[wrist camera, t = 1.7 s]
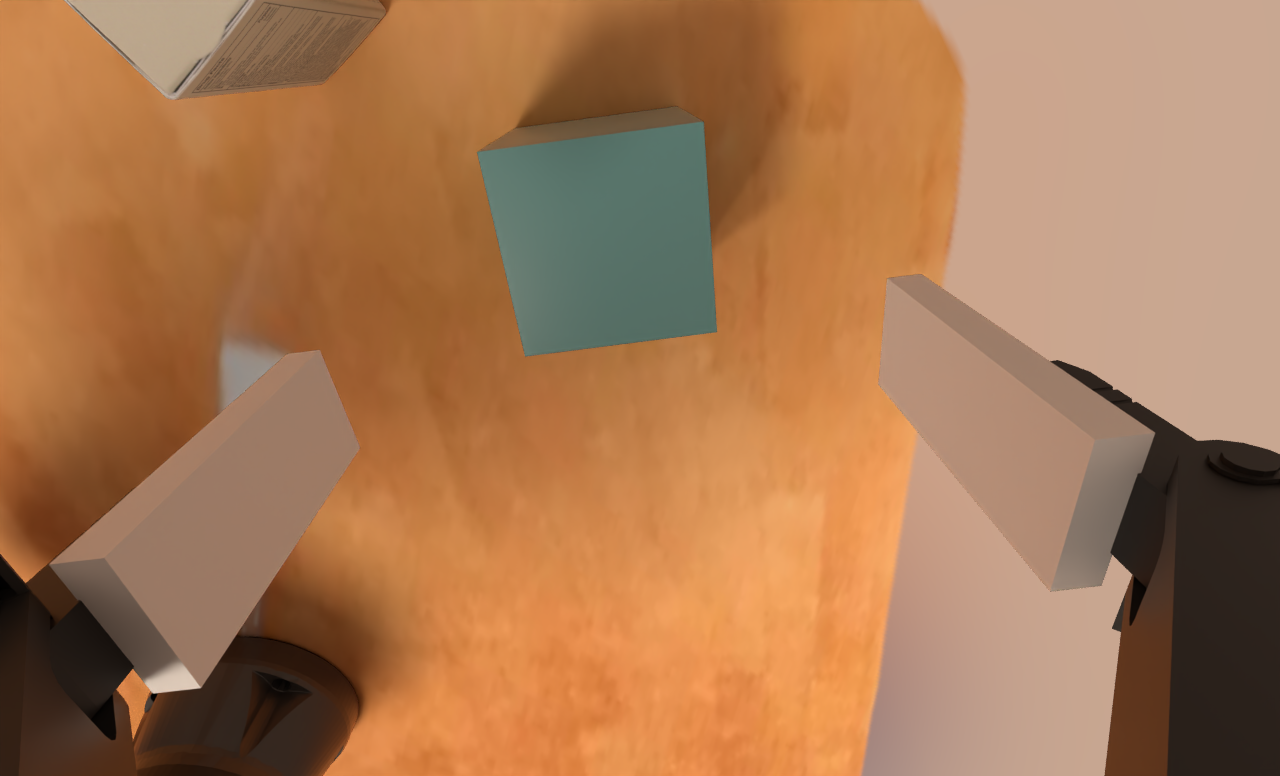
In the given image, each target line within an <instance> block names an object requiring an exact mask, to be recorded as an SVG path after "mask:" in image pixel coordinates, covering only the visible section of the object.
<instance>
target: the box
mask: <svg viewBox="0 0 1280 776" xmlns="http://www.w3.org/2000/svg"><path fill="white" fill-rule="evenodd" d="M64 1H65V2H66V3H67V4H68V5H69V6H70V7H72V8H73V9H74V10H75V11H76V12H77V13H78V14H79V15H80V16H81V17H82V18H83V19H84V20H85V21H86V22H87V23H88V24H89V25H90V26H91V27H92V28H93V29H94V30H95V31H96V32H97V33H98V34H99V35H100V36H101V37H102V38H103V39H104V40H105V41H107V42H108V43H109V44H110V45H111V46H112V47H113V48H114V49H115V50H116V51H117V52H118V53H119V54H120V55H121V56H122V57H123V58H125V59H126V60H127V61H128V62H129V63H130V64H131V65H132V66H133V67H134V68H135V69H136V70H137V71H138V72H139V73H140V74H141V75H142V76H143V77H145V78H146V79H147V80H148V81H149V82H150V83H151V84H152V85H153V86H154V87H155V88H156V89H157V90H158V91H160V92H161V93H162V94H163V95H164V96H165V97H166V98H168V99H171V100H177V99H185V98H196V97H205V96H214V95H224V94H234V93H245V92H255V91H265V90H274V89H283V88H293V87H303V86H313V85H321V84H323V83H325V82H326V81H327V79H328V78H329V77H330V76H331V75H332V74H333V73H334V72H335V71H336V70H337V69H338V68H339V67H340V66H341V65H342V64H343V63H344V62H345V61H346V60H347V59H348V57H349V56H350V55H351V54H352V53H353V52H354V51H355V49H356V48H357V47H358V46H359V45H360V44H361V43H362V41H363V40H364V39H365V38H366V37H367V36H368V35H369V34H370V32H371V31H372V30H373V29H374V27H375V26H376V25H377V24H378V23H379V21H380V20H381V19H382V18H383V17H384V15H385V14H386V9H385V8H384V6H383V5H382V4H381V3H380V1H379V0H64Z"/></svg>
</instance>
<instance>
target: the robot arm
mask: <svg viewBox="0 0 1280 776" xmlns="http://www.w3.org/2000/svg"><path fill="white" fill-rule="evenodd" d="M878 385H879V386H880V387H881V388H882V390H883V391H884V392H885V393H886V394H887V396H888V397H889V398H890V399H891V400H892V402H893V403H894V404H895V405H896V406H897V408H898V409H899V410H900V411H901V412H902V414H903V415H904V416H905V417H906V419H907V420H908V421H909V422H910V423H911V425H912V426H913V427H914V428H915V429H916V431H917V432H918V433H919V434H920V435H921V437H922V438H923V439H924V440H925V441H926V443H927V444H928V445H929V446H930V447H931V449H932V450H933V451H934V452H935V453H936V454H937V456H938V457H939V458H940V460H941V461H942V462H943V463H944V464H945V466H946V467H947V468H948V469H949V470H950V471H951V473H952V474H953V475H954V476H955V478H956V479H957V480H958V481H959V482H960V483H961V485H962V486H963V487H964V488H965V490H966V491H967V492H968V493H969V494H970V496H971V497H972V498H973V499H974V500H975V502H976V503H977V504H978V505H979V506H980V508H981V509H982V510H983V511H984V513H985V514H986V515H987V516H988V517H989V519H990V520H991V521H992V522H993V523H994V524H995V526H996V527H997V528H998V529H999V531H1000V532H1001V533H1002V534H1003V535H1004V537H1005V538H1006V539H1007V540H1008V541H1009V543H1010V544H1011V545H1012V546H1013V547H1014V549H1015V550H1016V551H1017V552H1018V553H1019V555H1020V556H1021V557H1022V558H1023V559H1024V561H1025V562H1026V563H1027V564H1028V566H1029V567H1030V568H1031V569H1032V570H1033V572H1034V573H1035V574H1036V575H1037V576H1038V578H1039V579H1040V580H1041V581H1042V582H1043V584H1044V585H1045V586H1046V587H1047V588H1048V590H1049V591H1050V592H1051V591H1060V590H1069V589H1078V588H1086V587H1095V586H1101V585H1102V583H1103V580H1104V577H1105V574H1106V571H1107V568H1108V566H1109V563H1110V560H1111V557H1112V555H1113V556H1114V557H1115V558H1116V559H1117V560H1118V561H1119V562H1120V563H1121V564H1122V565H1123V566H1125V568H1126V569H1128V570H1129V572H1130V573H1131V574H1132V577H1131V580H1130V583H1129V585H1128V588H1127V591H1126V593H1125V596H1124V598H1123V601H1122V604H1121V606H1120V609H1119V612H1118V614H1117V617H1116V619H1115V622H1114V625H1113V627H1112V629H1114V630H1117V631H1120V632H1121V637H1120V646H1119V655H1118V664H1117V673H1116V681H1115V690H1114V699H1113V707H1112V715H1111V724H1110V733H1109V742H1108V751H1107V759H1106V768H1105V776H1280V454H1278V453H1275V452H1273V451H1271V450H1268V449H1264V448H1260V447H1257V446H1253V445H1249V444H1245V443H1239V442H1231V441H1223V440H1207V441H1196V440H1195V439H1193V438H1192V437H1190V436H1189V435H1187V434H1186V433H1184V432H1183V431H1181V430H1179V429H1178V428H1176V427H1175V426H1173V425H1172V424H1170V423H1169V422H1167V421H1165V420H1164V419H1162V418H1161V417H1159V416H1158V415H1156V414H1155V413H1153V412H1151V411H1150V410H1148V409H1147V408H1145V407H1144V406H1142V405H1141V404H1139V403H1137V402H1134V403H1133V402H1132V399H1131V398H1130V397H1128V396H1127V395H1125V394H1123V393H1122V392H1120V391H1119V390H1113V387H1112V386H1111V385H1110V384H1108V383H1106V382H1105V381H1103V380H1102V379H1100V378H1098V377H1097V376H1096V375H1094V374H1092V373H1091V372H1089V371H1086V370H1084V369H1080V368H1078V367H1075V366H1073V365H1070V364H1067V363H1064V362H1062V361H1058V360H1056V361H1049V360H1047V359H1045V358H1044V357H1043V356H1041V355H1040V354H1038V353H1037V352H1035V351H1034V350H1032V349H1031V348H1029V347H1028V346H1026V345H1025V344H1023V343H1022V342H1021V341H1019V340H1018V339H1016V338H1015V337H1013V336H1012V335H1010V334H1009V333H1007V332H1006V331H1004V330H1003V329H1001V328H1000V327H998V326H997V325H995V324H994V323H993V322H991V321H990V320H988V319H987V318H985V317H984V316H982V315H981V314H979V313H978V312H976V311H975V310H973V309H972V308H970V307H969V306H968V305H966V304H965V303H963V302H961V301H960V300H959V299H957V298H956V297H954V296H953V295H951V294H950V293H948V292H947V291H945V290H944V289H942V288H941V287H940V286H938V285H937V284H935V283H934V282H932V281H931V280H929V279H928V278H926V277H925V276H923V275H922V274H917V275H909V276H901V277H893V278H887V287H886V299H885V311H884V323H883V335H882V347H881V359H880V371H879V383H878ZM359 449H360V446H359V443H358V441H357V439H356V436H355V434H354V431H353V429H352V427H351V424H350V422H349V419H348V417H347V414H346V412H345V410H344V407H343V405H342V402H341V400H340V398H339V395H338V393H337V390H336V388H335V386H334V383H333V381H332V378H331V376H330V374H329V371H328V369H327V366H326V364H325V362H324V359H323V357H322V354H321V352H320V350H314V351H306V352H298V353H290V354H287V355H285V356H284V357H283V358H282V359H281V360H280V361H279V362H277V363H276V364H275V365H274V366H273V367H272V368H271V369H270V370H268V371H267V372H266V373H265V374H264V375H263V376H262V377H261V378H259V379H258V380H257V381H256V382H255V383H254V384H253V385H251V386H250V387H249V388H248V389H247V390H246V391H245V392H244V393H242V394H241V395H240V396H239V397H238V398H237V399H236V400H234V401H233V402H232V403H231V404H230V405H229V406H228V407H227V408H225V409H224V410H223V411H222V412H221V413H220V414H219V415H217V416H216V417H215V418H214V419H213V420H212V421H211V422H210V423H208V424H207V425H206V426H205V427H204V428H203V429H202V430H201V431H199V432H198V433H197V434H196V435H195V436H194V437H193V438H191V439H190V440H189V441H188V442H187V443H186V444H185V445H184V446H182V447H181V448H180V449H179V450H178V451H177V452H176V453H174V454H173V455H172V456H171V457H170V458H169V459H168V460H167V461H165V462H164V463H163V464H162V465H161V466H160V467H159V468H157V469H156V470H155V471H154V472H153V473H152V474H151V475H150V476H148V477H147V478H146V479H145V480H144V481H143V482H142V483H140V484H139V485H138V486H137V487H136V488H134V489H133V490H131V491H130V492H129V493H128V494H127V495H126V496H125V497H123V498H122V499H121V500H120V501H119V502H118V503H117V504H115V505H114V506H113V507H112V508H111V509H110V511H109V512H108V513H107V514H104V515H103V516H102V517H101V518H100V519H98V520H97V521H96V522H95V523H94V524H93V525H92V526H91V528H90V529H88V530H86V531H85V532H84V533H83V534H81V535H80V536H79V537H78V538H77V539H76V540H75V541H73V542H72V543H71V544H70V545H69V546H68V547H67V548H66V549H64V550H63V551H62V552H61V553H60V554H59V555H58V556H56V557H55V558H54V559H53V560H52V561H51V562H50V563H48V564H47V565H46V566H45V567H44V568H43V569H42V570H41V571H39V572H38V573H37V574H36V575H35V576H34V577H33V578H31V579H30V580H29V581H28V582H27V583H25V582H24V581H23V580H22V579H21V578H20V576H19V575H18V574H17V573H16V572H15V571H14V569H13V568H12V567H11V566H10V565H9V564H8V562H7V561H6V560H5V559H4V558H3V556H2V555H1V554H0V776H323V775H324V773H325V772H326V771H327V769H328V768H329V766H330V765H331V764H332V763H333V762H334V761H335V759H336V758H337V757H338V756H339V755H340V754H341V753H342V751H343V750H344V748H345V746H346V744H347V742H348V740H349V737H350V735H351V732H352V730H353V727H354V725H355V722H356V720H357V717H358V711H359V705H358V699H357V696H356V693H355V691H354V689H353V687H352V686H351V684H350V683H349V681H348V680H347V679H346V678H345V677H344V676H343V675H342V674H341V673H340V672H339V671H338V670H337V669H336V668H335V667H333V666H332V665H331V664H329V663H328V662H326V661H325V660H323V659H321V658H320V657H318V656H316V655H314V654H312V653H310V652H308V651H306V650H303V649H301V648H298V647H295V646H292V645H289V644H286V643H282V642H278V641H273V640H268V639H262V638H252V637H235V636H236V635H237V633H238V632H239V630H240V629H241V627H242V626H243V624H244V622H245V621H246V619H247V618H248V616H249V615H250V613H251V612H252V610H253V609H254V607H255V606H256V604H257V603H258V601H259V600H260V598H261V597H262V595H263V594H264V592H265V591H266V589H267V588H268V586H269V585H270V583H271V582H272V580H273V579H274V577H275V576H276V574H277V573H278V571H279V570H280V568H281V567H282V565H283V564H284V562H285V561H286V559H287V558H288V556H289V555H290V553H291V552H292V550H293V549H294V547H295V546H296V544H297V543H298V541H299V540H300V538H301V537H302V535H303V533H304V532H305V530H306V529H307V527H308V526H309V524H310V523H311V521H312V520H313V518H314V517H315V515H316V514H317V512H318V511H319V509H320V508H321V506H322V505H323V503H324V502H325V500H326V499H327V497H328V496H329V494H330V493H331V491H332V490H333V488H334V487H335V485H336V484H337V482H338V481H339V479H340V478H341V476H342V475H343V473H344V472H345V470H346V469H347V467H348V466H349V464H350V463H351V461H352V460H353V458H354V457H355V455H356V454H357V452H358V451H359ZM132 669H134V671H135V672H136V673H137V674H138V675H139V677H140V678H141V679H142V680H143V682H144V683H145V684H146V685H147V687H148V688H149V689H150V690H151V691H150V693H149V695H148V698H147V701H146V704H145V713H144V715H143V717H142V720H141V722H140V724H139V727H138V729H137V732H136V734H135V737H134V740H133V738H132V730H131V723H130V715H129V707H128V705H127V703H126V701H125V700H124V698H123V697H122V696H121V695H120V694H119V692H118V691H117V690H116V689H117V688H118V686H119V685H120V684H121V683H122V681H123V680H124V679H125V678H126V676H127V675H128V674H129V673H130V671H131V670H132Z"/></svg>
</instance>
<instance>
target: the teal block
mask: <svg viewBox="0 0 1280 776" xmlns="http://www.w3.org/2000/svg"><path fill="white" fill-rule="evenodd" d="M477 154H478V158H479V162H480V167H481V171H482V175H483V179H484V184H485V188H486V192H487V196H488V201H489V205H490V209H491V213H492V218H493V222H494V226H495V230H496V235H497V239H498V243H499V247H500V252H501V256H502V260H503V265H504V269H505V273H506V277H507V282H508V286H509V290H510V294H511V299H512V303H513V307H514V311H515V316H516V320H517V324H518V328H519V333H520V337H521V341H522V345H523V350H524V354H525V356H533V355H541V354H549V353H557V352H564V351H572V350H580V349H588V348H596V347H604V346H612V345H619V344H627V343H635V342H643V341H651V340H659V339H666V338H674V337H682V336H690V335H698V334H706V333H714V332H717V325H716V309H715V293H714V277H713V261H712V245H711V230H710V214H709V198H708V182H707V166H706V150H705V134H704V121H702V120H700V119H698V118H697V117H695V116H693V115H692V114H690V113H688V112H686V111H685V110H683V109H681V108H680V107H678V106H676V107H668V108H661V109H653V110H646V111H638V112H631V113H624V114H616V115H609V116H601V117H594V118H587V119H579V120H572V121H564V122H557V123H550V124H542V125H535V126H527V127H520V128H515V129H513V130H511V131H510V132H508V133H507V134H505V135H503V136H502V137H500V138H499V139H497V140H495V141H494V142H492V143H491V144H489V145H487V146H486V147H484V148H483V149H481V150H479V151H478V152H477Z"/></svg>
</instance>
